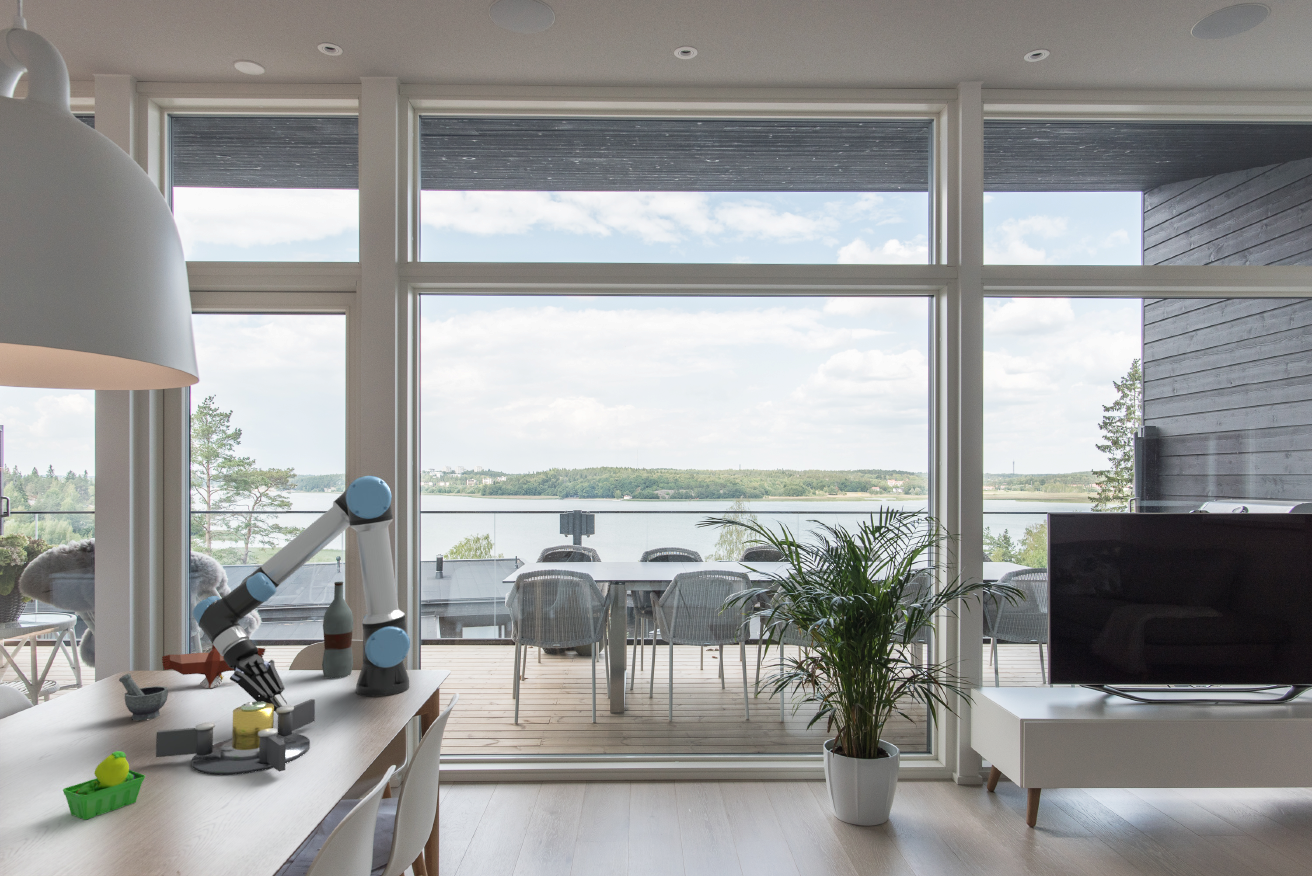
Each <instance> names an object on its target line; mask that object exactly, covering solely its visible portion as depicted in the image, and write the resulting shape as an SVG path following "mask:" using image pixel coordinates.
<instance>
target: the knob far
mask: <svg viewBox="0 0 1312 876" xmlns="http://www.w3.org/2000/svg"><path fill="white" fill-rule="evenodd" d="M215 727H216V723H215V722H212V721H209V722H202V723H198V724H196V725H195V726H194V727H187V728H175V729H163V730H162V729H161V730H158V731H156V734H155V735H156V738H155V740H156V742H155V758H162V757H163V758H165V757H174V756H176V757H177V756H185V755H186V756H187V755H188V756H189V755H198V756H202V755H208V754H211V753H212V752H213V745H214V728H215Z"/></svg>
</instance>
